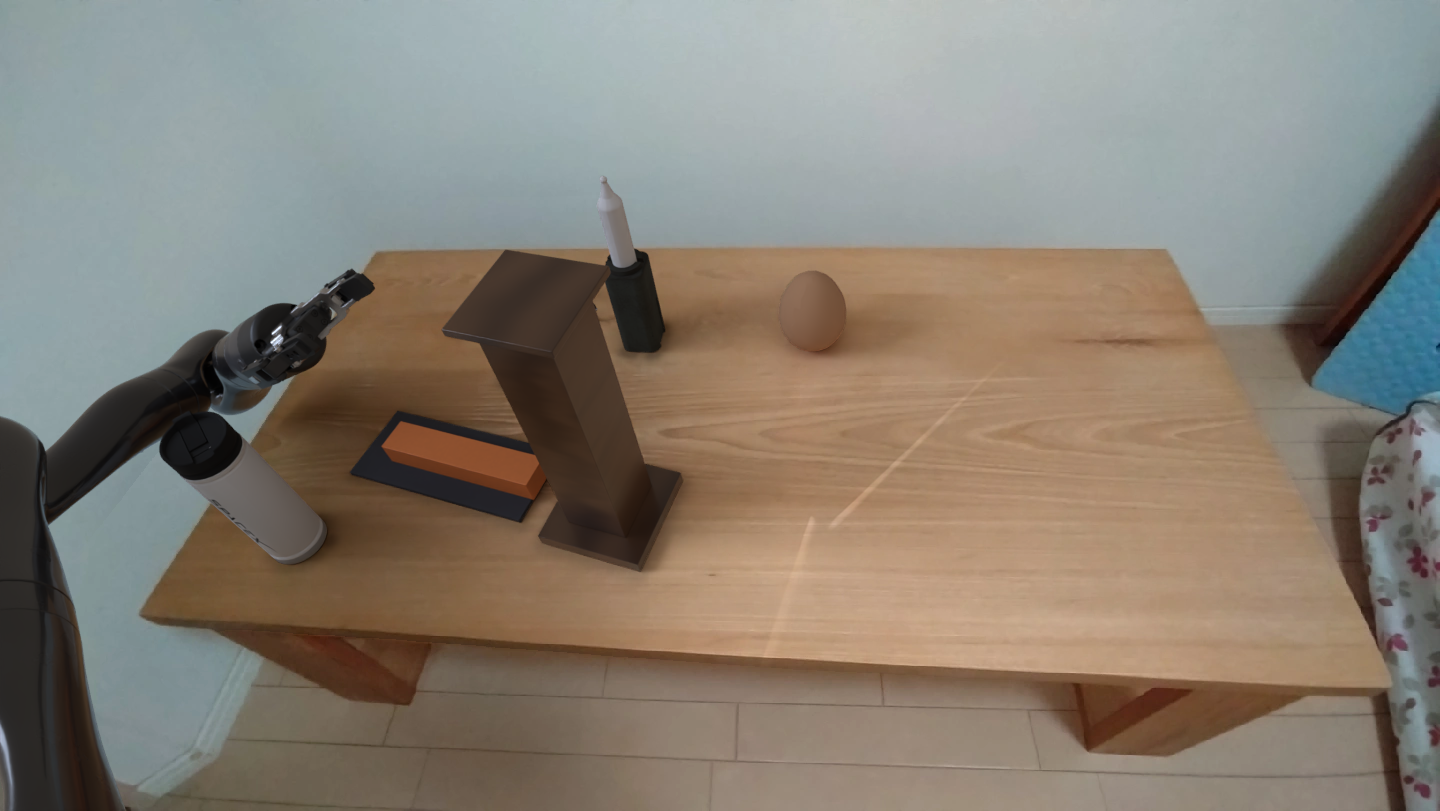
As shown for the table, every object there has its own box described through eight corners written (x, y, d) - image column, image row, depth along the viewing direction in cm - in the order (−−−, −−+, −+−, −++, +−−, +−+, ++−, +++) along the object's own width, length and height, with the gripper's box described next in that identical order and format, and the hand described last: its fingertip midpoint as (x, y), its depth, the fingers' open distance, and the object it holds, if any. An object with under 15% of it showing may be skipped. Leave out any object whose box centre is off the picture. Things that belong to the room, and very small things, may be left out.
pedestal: (683, 480, 87) (625, 259, 63) (640, 572, 81) (557, 364, 56) (589, 457, 91) (501, 240, 67) (541, 543, 84) (422, 336, 60)
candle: (659, 353, 101) (619, 190, 82) (622, 351, 102) (573, 190, 83) (667, 325, 104) (630, 162, 85) (630, 324, 105) (586, 163, 86)
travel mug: (315, 505, 91) (211, 396, 76) (336, 541, 87) (230, 434, 72) (264, 537, 89) (146, 431, 74) (283, 576, 85) (163, 472, 70)
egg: (859, 340, 98) (861, 272, 90) (815, 377, 95) (813, 310, 87) (810, 311, 103) (808, 244, 94) (767, 346, 100) (761, 279, 91)
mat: (562, 453, 92) (560, 450, 92) (520, 523, 86) (519, 520, 86) (399, 413, 99) (397, 410, 99) (351, 475, 93) (349, 472, 93)
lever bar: (550, 472, 90) (543, 457, 87) (533, 500, 87) (526, 485, 85) (411, 435, 96) (400, 420, 93) (392, 461, 93) (380, 446, 91)
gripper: (343, 325, 90) (411, 291, 80) (259, 416, 82) (323, 392, 71) (289, 278, 86) (353, 235, 76) (195, 369, 78) (252, 335, 68)
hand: (338, 311), depth 74 cm, fingers open, 8 cm apart
